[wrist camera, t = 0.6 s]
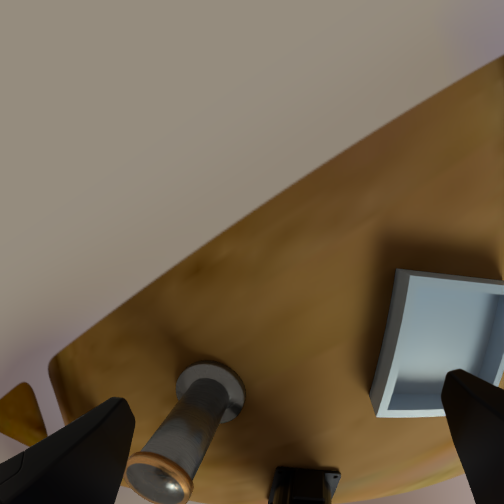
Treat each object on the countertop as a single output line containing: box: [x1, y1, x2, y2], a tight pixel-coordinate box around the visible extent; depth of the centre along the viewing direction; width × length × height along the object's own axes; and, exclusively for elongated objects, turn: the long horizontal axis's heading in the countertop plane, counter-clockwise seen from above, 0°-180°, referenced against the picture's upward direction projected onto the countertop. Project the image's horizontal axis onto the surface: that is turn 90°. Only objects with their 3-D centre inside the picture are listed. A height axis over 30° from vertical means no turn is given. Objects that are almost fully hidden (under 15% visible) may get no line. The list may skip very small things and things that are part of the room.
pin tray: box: [369, 268, 504, 417], centre depth 21 cm, size 11×11×4 cm
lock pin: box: [123, 360, 246, 504], centre depth 20 cm, size 6×6×12 cm
